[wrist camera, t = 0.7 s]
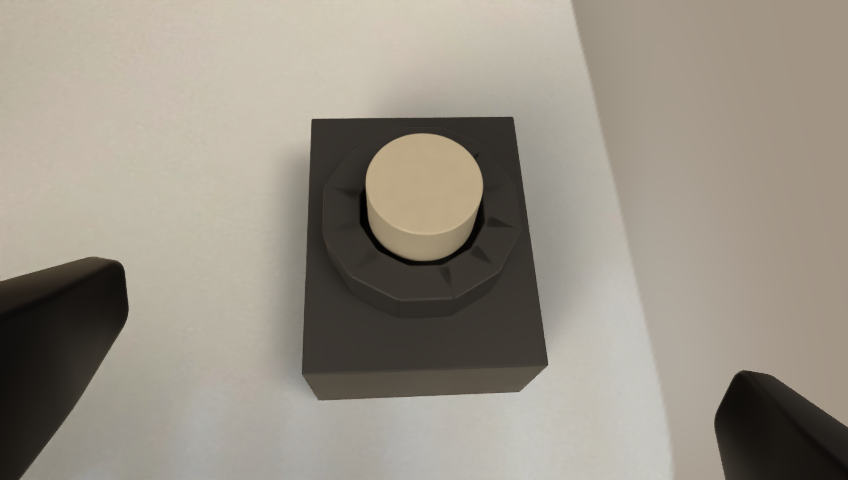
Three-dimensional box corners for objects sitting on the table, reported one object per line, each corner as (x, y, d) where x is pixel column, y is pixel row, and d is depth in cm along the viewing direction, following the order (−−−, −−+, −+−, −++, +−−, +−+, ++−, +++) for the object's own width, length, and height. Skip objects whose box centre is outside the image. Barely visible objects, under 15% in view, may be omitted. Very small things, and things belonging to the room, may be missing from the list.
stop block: (520, 392, 23) (563, 351, 17) (318, 400, 23) (292, 362, 17) (494, 177, 27) (522, 86, 22) (324, 180, 27) (305, 87, 21)
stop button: (479, 260, 19) (488, 233, 17) (368, 263, 19) (365, 236, 17) (469, 166, 20) (477, 132, 19) (367, 168, 20) (364, 133, 18)
